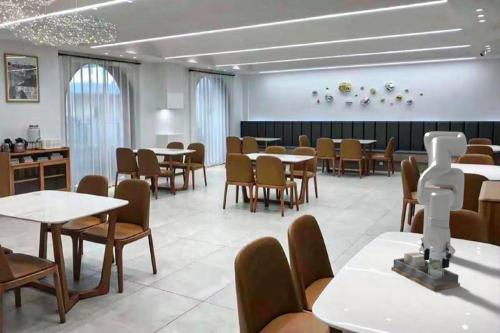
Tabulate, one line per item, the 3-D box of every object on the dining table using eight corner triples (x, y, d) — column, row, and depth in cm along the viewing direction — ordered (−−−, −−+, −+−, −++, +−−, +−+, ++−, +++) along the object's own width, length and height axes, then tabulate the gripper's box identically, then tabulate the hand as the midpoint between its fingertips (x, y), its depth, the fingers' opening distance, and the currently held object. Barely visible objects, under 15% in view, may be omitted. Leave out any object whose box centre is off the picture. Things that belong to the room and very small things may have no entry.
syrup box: (443, 278, 182) (445, 244, 180) (443, 284, 177) (445, 248, 175) (428, 276, 184) (430, 242, 182) (427, 281, 179) (429, 246, 177)
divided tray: (391, 269, 195) (392, 251, 194) (415, 265, 200) (416, 248, 199) (433, 291, 173) (434, 271, 171) (459, 286, 178) (461, 266, 177)
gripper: (415, 218, 184) (413, 258, 186) (448, 229, 168) (445, 272, 170) (429, 216, 187) (427, 256, 189) (463, 227, 171) (460, 269, 173)
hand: (436, 263), depth 180 cm, fingers open, 9 cm apart
